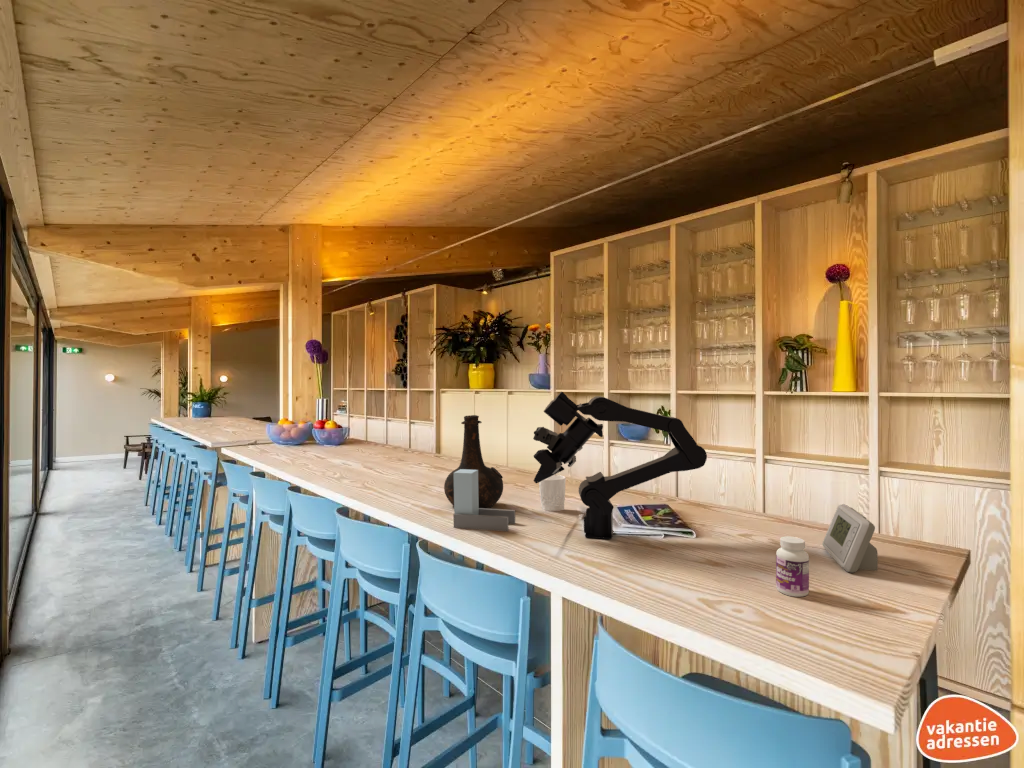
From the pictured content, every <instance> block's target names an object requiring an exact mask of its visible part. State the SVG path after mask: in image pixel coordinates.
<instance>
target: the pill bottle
mask: <svg viewBox="0 0 1024 768" xmlns="http://www.w3.org/2000/svg"><path fill="white" fill-rule="evenodd" d="M779 545H780V547H779V548H778V549H777V550H776V553H775V588H776V589H777V591H778V592H779V593H781V594H783V595H786V596H789V597H793V598H802V597H806V596H808V595H809V592H810V556H809V554H808V552H807V551H805V548H806V541H805V540H804V539H803V538H800V537H796V536H790V535H786V536H781V537H780V538H779Z"/></svg>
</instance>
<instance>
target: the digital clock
mask: <svg viewBox="0 0 1024 768" xmlns="http://www.w3.org/2000/svg"><path fill="white" fill-rule="evenodd" d="M875 530H876V526H875V525H874V523H872V521H870V520H869V519H867V517H865V516H864V515H863V514H861V513H860V512H858V511H857V510H856V509H855V508H853V507H851V506H848V505H846V504H844V503H843V504H838V506H837V507H836V510H835V512H834V514H833V516H832V518H831V522H830V524H829V525H828V529H827V531H826V533H825V535H824V538H823V541H822V547H823V548H824V550H825V551H827V552H828V553H829V554H828V555H830V557H831V558H833V559H834V561H835V562H836V564H838V565H839V566H840V567H841V568H842V569H844V571H846V572H847V573H856V572H858V570H863V571H878V568H879V566H878V564H879V563H878V562H879V561H878V558H879V557H878V555H879V553H878V549H877V547H875V546H874V545H873V544H872V543H871V540H872V537H873V535H874V533H875Z"/></svg>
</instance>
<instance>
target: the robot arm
mask: <svg viewBox="0 0 1024 768" xmlns="http://www.w3.org/2000/svg"><path fill="white" fill-rule="evenodd" d="M578 411H579V412H580V413H582V415H581V414H580V413H579V412H578ZM543 412H544V413H545V414H546V415H547V416H548V417H549V418H551V419H552V420H553V421H554V422H555V423H556V424H557V425H559V426H560V427H562V425H564V426H568V427H567V428H566V430H564V431H563V432H559V433H557V432H555V431H553V430H550V429H549V428H547V427H544V426H538V427H536V430H534V431H533V440H534V441H536V442H540V443H542V444H544V445H547V446H546V449H545V448H543V449H539V450H537V451H536V452H535V453H534V455H533V458H534V459H535V460H536V461H537V462H538V464H540V467H539V468H538V471H537V473H536V474H535V476H534V479H533V482H534V483H535V484H539V482H541V481H543V480H545V479H547V478H549V477H551V476H553V475H558V473H561V472H563V471H565V468H564V466H563V465H566V464H567V467H568V468H570V467H573V466H574V464H575V463H576V462H577V456H576V454H577V453H578V452H580V451H581V450H582V449H583V446H585V444H586V443H587V442H588V441H589V440H590V438H591V437H593V435H594V434H596V435H597V436H598V437H600V438H603V437H604V431H603V428H604V425H603V424H602V423H600V424H599V423H597V422H596V421H599V422H601V421H603V422H625V423H630V424H632V425H633V424H634V425H638V426H640V427H641V426H642V427H646V428H650V429H654V430H658V431H663V432H666V433H667V434H668V436H669V439H670V440H671V443H672V445H673V448H671V449H670V450H669V451H668V452H667V453H666V454H664V455H663V456H660V457H658V458H655V459H652V460H651V461H648V462H645V463H642V464H639V465H636V466H634V467H631V468H628V469H627V470H624V471H621V472H618V473H615V474H612V475H607V476H604V474H603V473H602V472H601V471H599V472H597V473H594V474H593V475H591V476H585V479H584V480H583V481H581V482H580V483H579V487H578V494H579V495H578V496H579V498H580V500H581V502H582V503H583V504H584V505H585V506H586V507H587V508H586V511H585V514H584V516H583V533H584V538H587V539H589V538H590V539H603V540H612V538H613V536H614V533H615V530H614V526H613V525H614V524H613V523H614V522H613V520H614V516H613V515H614V514H613V513H614V512H613V511H614V505H613V504H612V502H611V500H610V499H612V498H613V497H615V495H617V494H618V493H620V492H623V491H626V490H627V489H630V488H633V487H636V486H638V485H641V484H644V483H646V482H648V481H651V480H655V479H657V478H660V477H662V476H665V475H668V474H670V473H675V472H687V471H692V470H697V469H701V468H702V467H704V466H705V465H706V463H707V457H708V455H707V452H706V450H705V448H703V447H702V446H700V445H698V444H697V442H696V440H695V439H694V437H693V436H692V435H691V434H690V432H689V431H688V430H687V428H686V426H685V425H684V423H683V421H682V419H680V418H678V417H674V416H666V415H662V414H657V413H654V412H653V413H652V412H649V411H645V410H640V409H637V408H632V407H628V406H625V405H623V404H621V403H619V402H617V401H614V400H611V399H609V398H607V397H604V396H602V395H596V396H593V397H592V398H591V399H590V400H589V401H588V402H584V403H579V404H577V403H575V402H574V401H573V400H572V399H570V398H569V397H568V396H567V394H565V393H564V392H563V391H560V393H559V394H558V395H557V396H556V397H554V399H553V400H552V399H551V401H550V402H549V404H547V406H545V409H544V410H543ZM583 415H584V416H590V417H592V418H594V419H595V420H596V421H594V420H593V419H592V418H590V417H587V418H586V417H584V416H583ZM569 424H570V425H569ZM613 530H614V531H613ZM613 532H614V533H613Z"/></svg>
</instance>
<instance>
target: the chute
mask: <svg viewBox="0 0 1024 768" xmlns="http://www.w3.org/2000/svg"><path fill="white" fill-rule="evenodd" d="M510 524H511V525H515V524H516V509H504V508H503V509H502V508H479V515H473V514H456V513H455V514H454V513H453V529H470V530H482V531H495V532H497V531H498V532H508V531H509V525H510Z"/></svg>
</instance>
